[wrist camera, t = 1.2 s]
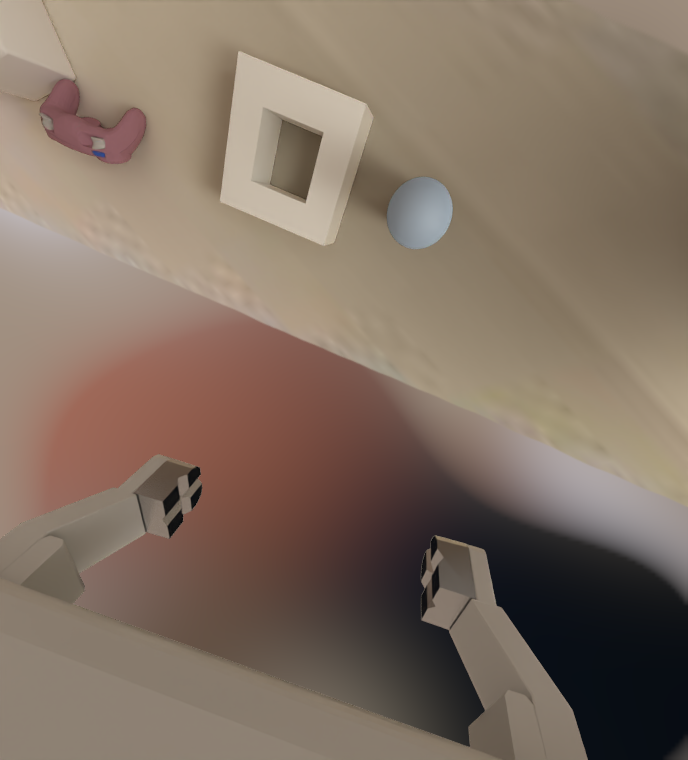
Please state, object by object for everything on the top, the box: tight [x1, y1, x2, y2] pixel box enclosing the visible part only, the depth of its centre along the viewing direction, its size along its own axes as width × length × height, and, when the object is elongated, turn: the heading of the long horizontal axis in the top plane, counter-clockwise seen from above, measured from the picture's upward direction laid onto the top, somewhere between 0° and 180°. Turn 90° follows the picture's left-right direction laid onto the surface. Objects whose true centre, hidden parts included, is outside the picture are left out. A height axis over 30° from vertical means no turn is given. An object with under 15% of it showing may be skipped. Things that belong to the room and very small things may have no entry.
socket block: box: [220, 51, 374, 246], centre depth 32 cm, size 12×12×4 cm
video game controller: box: [39, 79, 146, 164], centre depth 34 cm, size 10×5×7 cm, turn 70°
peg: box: [387, 177, 453, 249], centre depth 27 cm, size 4×4×16 cm
